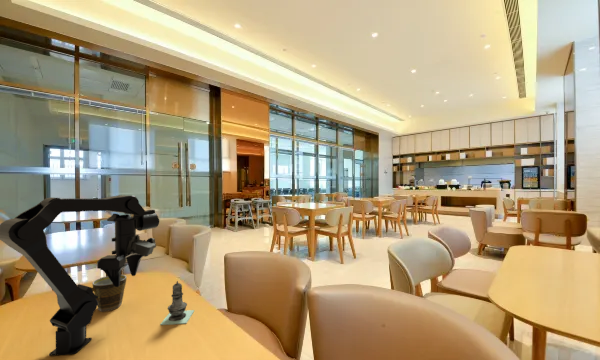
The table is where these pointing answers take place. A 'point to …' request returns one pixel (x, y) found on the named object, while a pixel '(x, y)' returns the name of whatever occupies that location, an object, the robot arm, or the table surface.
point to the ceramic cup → (108, 293)
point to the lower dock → (182, 321)
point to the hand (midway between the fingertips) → (125, 280)
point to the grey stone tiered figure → (177, 304)
